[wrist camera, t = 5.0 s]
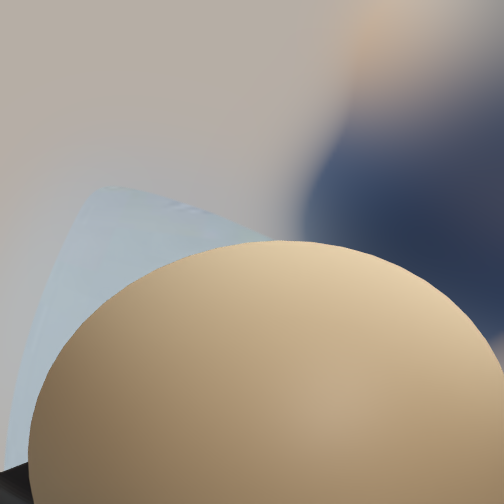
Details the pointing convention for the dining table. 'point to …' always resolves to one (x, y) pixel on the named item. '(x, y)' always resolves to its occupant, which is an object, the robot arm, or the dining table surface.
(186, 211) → the dining table surface
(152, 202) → the dining table surface
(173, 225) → the dining table surface
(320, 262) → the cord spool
